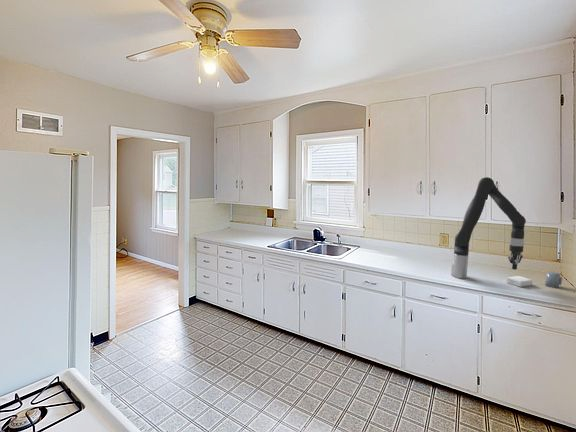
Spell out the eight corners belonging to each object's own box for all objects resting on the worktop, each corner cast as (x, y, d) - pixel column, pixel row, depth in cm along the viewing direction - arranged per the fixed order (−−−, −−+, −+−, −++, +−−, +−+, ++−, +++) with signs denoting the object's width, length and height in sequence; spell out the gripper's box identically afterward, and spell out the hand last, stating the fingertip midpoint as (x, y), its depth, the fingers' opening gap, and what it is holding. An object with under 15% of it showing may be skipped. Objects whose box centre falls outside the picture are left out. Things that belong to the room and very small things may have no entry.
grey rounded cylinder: (545, 286, 203) (547, 273, 202) (544, 283, 209) (545, 271, 208) (561, 289, 198) (563, 276, 197) (559, 285, 204) (561, 273, 203)
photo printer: (506, 276, 211) (519, 275, 214) (505, 282, 211) (519, 280, 214) (521, 281, 201) (534, 279, 204) (520, 287, 201) (534, 285, 205)
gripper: (516, 242, 209) (514, 266, 211) (504, 244, 204) (502, 269, 206) (528, 244, 202) (526, 269, 205) (517, 246, 197) (514, 272, 199)
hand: (514, 269), depth 205 cm, fingers closed
